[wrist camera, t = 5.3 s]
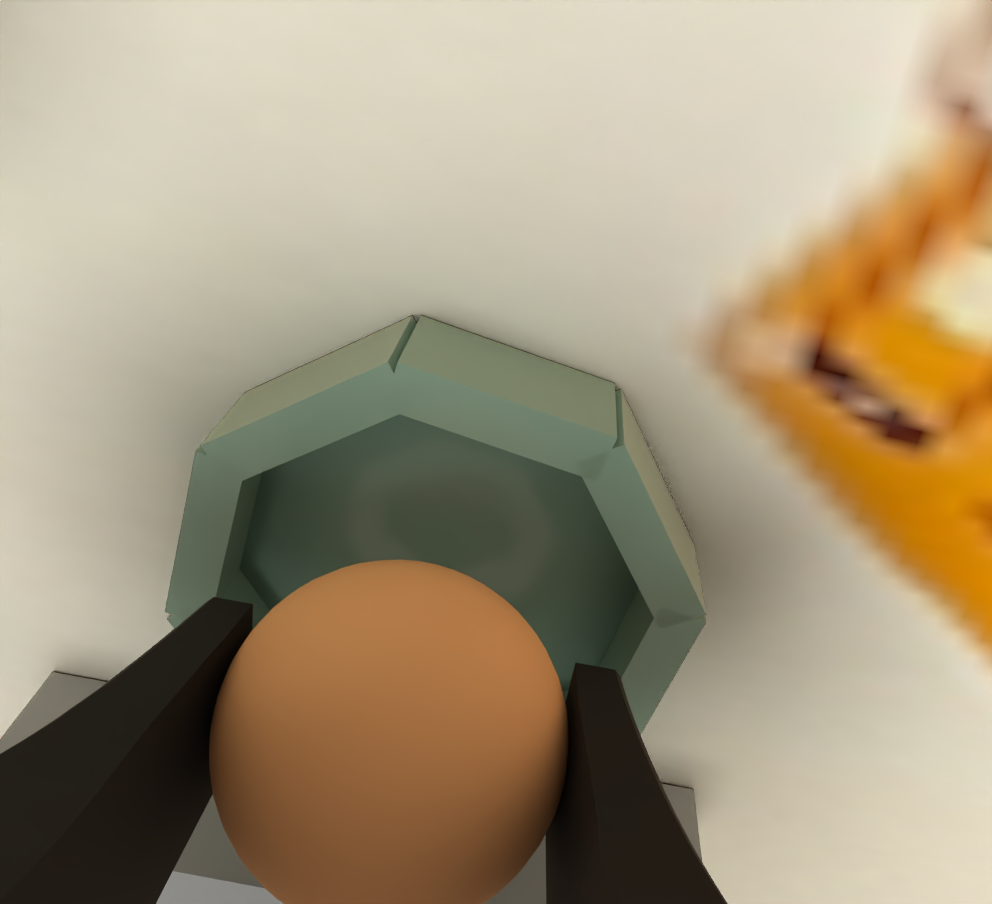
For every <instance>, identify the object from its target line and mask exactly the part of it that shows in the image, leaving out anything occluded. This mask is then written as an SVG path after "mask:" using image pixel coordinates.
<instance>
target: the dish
mask: <svg viewBox="0 0 992 904" xmlns="http://www.w3.org/2000/svg"><path fill="white" fill-rule="evenodd" d="M378 560H412V561H421V562H427V563H432V564H437V565H440V566H443V567H447V568H450V569H453V570H456V571H458V572H460V573H463V574H465V575H467V576H470V577H471V578H473V579H475V580H477V581H479V582H480V583H482V584H484V585H485V586H487V587H488V588H490V589H491V590H493V591H494V592H495V593H497V594H498V595H500V596H501V597H502V598H504V599H505V600H506V601H507V602H508V603H509V604H511V605H512V606H513V607H514V608H515V609H516V610H517V611H518V612H519V613H520V614H521V616H522V617H523V618H524V619H525V620H526V621H527V623H528V624H529V625H530V626H531V628H532V629H533V630H534V632H535V633H536V634H537V636H538V637H539V639H540V641H541V642H542V644H543V645H544V647H545V648H546V651H547V653H548V655H549V657H550V659H551V662H552V664H553V666H554V668H555V671H556V673H557V675H558V677H559V681H560V684H561V688H562V692H563V696H564V700H565V702H566V698H567V694H568V690H569V686H570V682H571V678H572V674H573V670H574V666H575V663H581V664H586V665H592V666H597V667H603V668H608V669H614V670H616V671H617V673H618V674H619V675H620V677H621V680H622V684H623V687H624V690H625V693H626V697H627V700H628V703H629V706H630V709H631V711H632V714H633V717H634V720H635V722H636V725H637V728H638V730H639V733H640V735H641V733H642V731H643V730H644V728H645V726H646V724H647V723H648V721H649V719H650V718H651V716H652V714H653V712H654V711H655V709H656V707H657V705H658V704H659V702H660V700H661V699H662V697H663V695H664V693H665V692H666V690H667V688H668V687H669V685H670V683H671V681H672V680H673V678H674V676H675V674H676V673H677V671H678V669H679V668H680V666H681V664H682V662H683V661H684V659H685V657H686V656H687V654H688V652H689V650H690V649H691V647H692V645H693V644H694V642H695V640H696V638H697V637H698V635H699V633H700V631H701V630H702V628H703V626H704V625H705V623H706V620H705V615H706V610H705V604H704V599H703V593H702V587H701V581H700V575H699V569H698V564H697V558H696V552H695V546H694V544H693V542H692V539H691V537H690V535H689V533H688V531H687V529H686V527H685V524H684V522H683V520H682V518H681V516H680V514H679V512H678V509H677V507H676V505H675V503H674V501H673V499H672V497H671V494H670V492H669V490H668V488H667V486H666V484H665V482H664V480H663V477H662V475H661V473H660V471H659V469H658V467H657V465H656V462H655V460H654V458H653V456H652V454H651V452H650V450H649V447H648V445H647V443H646V441H645V439H644V437H643V435H642V432H641V430H640V428H639V426H638V424H637V422H636V420H635V418H634V415H633V413H632V411H631V409H630V407H629V405H628V403H627V400H626V398H625V396H624V394H623V392H622V390H621V389H620V390H618V391H615V383H612V382H609V381H607V380H604V379H601V378H598V377H595V376H592V375H589V374H587V373H584V372H581V371H578V370H575V369H572V368H570V367H567V366H564V365H561V364H558V363H555V362H552V361H550V360H547V359H544V358H541V357H538V356H535V355H532V354H530V353H527V352H524V351H521V350H518V349H515V348H513V347H510V346H507V345H504V344H501V343H498V342H495V341H493V340H490V339H487V338H484V337H481V336H478V335H476V334H473V333H470V332H467V331H464V330H461V329H458V328H456V327H453V326H450V325H447V324H444V323H441V322H438V321H436V320H433V319H430V318H427V317H424V316H421V317H420V319H419V321H418V323H417V324H416V322H415V320H414V318H413V316H410V317H408V318H406V319H404V320H402V321H400V322H397V323H395V324H393V325H391V326H389V327H386V328H384V329H382V330H380V331H378V332H376V333H373V334H371V335H369V336H367V337H365V338H363V339H360V340H358V341H356V342H354V343H352V344H349V345H347V346H345V347H343V348H341V349H339V350H336V351H334V352H332V353H330V354H328V355H325V356H323V357H321V358H319V359H317V360H315V361H312V362H310V363H308V364H306V365H304V366H301V367H299V368H297V369H295V370H293V371H291V372H288V373H286V374H284V375H282V376H280V377H277V378H275V379H273V380H271V381H269V382H267V383H264V384H262V385H260V386H258V387H256V388H253V389H251V390H249V391H247V392H245V393H244V394H243V395H242V396H241V397H240V399H239V400H238V401H237V402H236V403H235V405H234V406H233V407H232V408H231V409H230V411H229V412H228V413H227V414H226V415H225V417H224V418H223V419H222V420H221V421H220V423H219V424H218V425H217V426H216V427H215V429H214V430H213V431H212V432H211V434H210V435H209V436H208V437H207V438H206V440H205V441H204V442H203V443H202V444H201V446H200V447H199V448H198V449H197V450H196V452H195V457H194V463H193V468H192V473H191V478H190V483H189V489H188V494H187V499H186V504H185V509H184V515H183V520H182V525H181V530H180V535H179V541H178V546H177V551H176V556H175V561H174V567H173V572H172V577H171V582H170V587H169V593H168V598H167V603H166V608H165V612H166V613H169V614H170V615H169V616H168V618H167V620H168V621H169V622H170V623H171V625H172V626H173V627H174V629H175V628H176V627H177V626H178V625H180V624H181V623H182V622H183V621H184V620H185V619H187V618H188V617H189V616H190V615H191V614H193V613H194V612H195V611H196V610H197V609H198V608H200V607H201V606H202V605H203V604H204V603H206V602H207V601H208V600H210V599H212V598H213V597H217V598H223V599H228V600H234V601H239V602H245V603H250V604H253V623H252V630H253V629H254V628H255V627H256V626H257V624H258V623H259V622H260V621H261V620H262V619H263V618H264V617H265V616H266V615H267V614H268V613H269V612H270V610H271V609H272V608H273V607H275V606H276V605H277V604H278V603H280V602H281V601H282V600H283V599H285V598H286V597H287V596H288V595H290V594H291V593H293V592H294V591H296V590H297V589H298V588H300V587H302V586H304V585H305V584H307V583H309V582H310V581H312V580H314V579H316V578H318V577H321V576H323V575H326V574H328V573H330V572H333V571H335V570H338V569H340V568H343V567H347V566H351V565H354V564H358V563H364V562H371V561H378Z"/></svg>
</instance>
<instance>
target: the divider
mask: <svg viewBox="0 0 992 904" xmlns="http://www.w3.org/2000/svg"><path fill="white" fill-rule="evenodd" d="M106 683H107V682H104V681H99V680H93V679H88V678H83V677H77V676H72V675H66V674H61V673H55V672H52V673H51V674H50V676H49V677H48V678H47V680H46V681H45V682H44V683H43V685H42V686H41V687H40V689H39V690H38V691H37V692H36V694H35V695H34V696H33V698H32V699H31V700H30V702H29V703H28V704H27V705H26V707H25V708H24V709H23V711H22V712H21V713H20V714H19V716H18V717H17V718H16V720H15V721H14V722H13V723H12V725H11V726H10V727H9V729H8V730H7V731H6V733H5V734H4V735H3V736H2V738H1V739H0V754H1V753H2V752H4V751H6V750H7V749H9V748H11V747H12V746H14V745H16V744H17V743H19V742H21V741H22V740H24V739H25V738H27V737H29V736H30V735H32V734H33V733H35V732H36V731H38V730H40V729H41V728H43V727H44V726H46V725H47V724H49V723H50V722H52V721H53V720H55V719H56V718H58V717H59V716H61V715H62V714H63V713H65V712H66V711H68V710H69V709H71V708H72V707H73V706H75V705H76V704H78V703H79V702H80V701H82V700H83V699H85V698H86V697H88V696H89V695H90V694H92V693H93V692H95V691H96V690H97V689H99V688H100V687H102V686H103V685H104V684H106ZM662 786H663V788H664V791H665V793H666V795H667V797H668V799H669V801H670V803H671V805H672V807H673V809H674V811H675V813H676V815H677V817H678V819H679V821H680V823H681V825H682V827H683V829H684V830H685V832H686V834H687V836H688V838H689V840H690V842H691V844H692V845H693V847H694V849H695V851H696V853H697V854H698V856H699V858H700V860H701V861H702V857H701V849H700V841H699V832H698V824H697V815H696V807H695V799H694V790H693V789H688V788H683V787H677V786H672V785H666V784H662ZM156 904H283V903H282V902H281V901H279V900H278V899H276V898H275V897H274V896H273V895H272V894H271V893H270V892H268V891H267V890H266V889H265V888H264V887H263V885H262V884H261V883H260V882H259V881H258V880H257V879H256V878H255V877H254V876H253V875H252V873H251V872H250V871H249V870H248V869H247V868H246V866H245V865H244V863H243V862H242V861H241V859H240V858H239V856H238V854H237V853H236V851H235V849H234V847H233V845H232V844H231V842H230V840H229V838H228V836H227V834H226V832H225V830H224V828H223V825H222V822H221V819H220V817H219V813H218V810H217V807H216V804H215V800H214V796H213V794H212V796H211V798H210V800H209V802H208V804H207V806H206V808H205V810H204V812H203V814H202V816H201V818H200V820H199V822H198V823H197V825H196V827H195V829H194V831H193V833H192V835H191V837H190V839H189V841H188V843H187V845H186V847H185V848H184V850H183V852H182V854H181V856H180V858H179V860H178V862H177V864H176V866H175V868H174V870H173V872H172V874H171V875H170V877H169V879H168V881H167V883H166V885H165V887H164V889H163V891H162V893H161V895H160V897H159V899H158V901H157V903H156ZM484 904H546V834H545V836H544V838H543V840H542V842H541V844H540V845H539V847H538V848H537V850H536V851H535V852H534V854H533V855H532V856H531V858H530V859H529V860H528V862H527V863H526V864H525V866H524V867H523V868H522V870H521V871H520V872H519V873H518V874H517V875H516V876H515V877H514V878H513V879H512V880H511V881H510V882H509V883H508V884H507V885H506V886H505V887H504V888H503V889H502V890H501V891H499V892H498V893H497V894H496V895H495V896H494V897H492V898H491V899H490V900H488V901H487V902H485V903H484Z"/></svg>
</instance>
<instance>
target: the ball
mask: <svg viewBox="0 0 992 904" xmlns="http://www.w3.org/2000/svg"><path fill="white" fill-rule="evenodd" d="M568 745H569V735H568V717H567V709H566V704H565V700H564V696H563V692H562V688H561V684H560V681H559V677H558V675H557V673H556V671H555V668H554V666H553V664H552V662H551V659H550V657H549V655H548V653H547V651H546V648H545V647H544V645H543V644H542V642H541V641H540V639H539V637H538V636H537V634H536V633H535V632H534V630H533V629H532V628H531V626H530V625H529V624H528V623H527V621H526V620H525V619H524V618H523V617H522V616H521V614H520V613H519V612H518V611H517V610H516V609H515V608H514V607H513V606H512V605H511V604H509V603H508V602H507V601H506V600H505V599H504V598H502V597H501V596H500V595H498V594H497V593H495V592H494V591H493V590H491V589H490V588H488V587H487V586H485V585H484V584H482V583H480V582H479V581H477V580H475V579H473V578H471V577H470V576H467V575H465V574H463V573H460V572H458V571H456V570H453V569H450V568H447V567H443V566H440V565H437V564H432V563H427V562H421V561H412V560H378V561H371V562H364V563H358V564H354V565H351V566H347V567H343V568H340V569H338V570H335V571H333V572H330V573H328V574H326V575H323V576H321V577H318V578H316V579H314V580H312V581H310V582H309V583H307V584H305V585H304V586H302V587H300V588H298V589H297V590H296V591H294V592H293V593H291V594H290V595H288V596H287V597H286V598H285V599H283V600H282V601H281V602H280V603H278V604H277V605H276V606H275V607H273V608H272V609H271V610H270V612H269V613H268V614H267V615H266V616H265V617H264V618H263V619H262V620H261V621H260V622H259V623H258V624H257V626H256V627H255V628H254V629H253V630H252V631H251V632H250V634H249V635H248V637H247V638H246V640H245V641H244V643H243V644H242V646H241V647H240V649H239V650H238V652H237V654H236V655H235V657H234V659H233V660H232V662H231V664H230V666H229V669H228V671H227V673H226V676H225V678H224V680H223V683H222V685H221V688H220V691H219V693H218V696H217V700H216V704H215V708H214V713H213V718H212V723H211V729H210V742H209V768H210V777H211V785H212V791H213V796H214V800H215V804H216V807H217V810H218V813H219V817H220V819H221V822H222V825H223V828H224V830H225V832H226V834H227V836H228V838H229V840H230V842H231V844H232V845H233V847H234V849H235V851H236V853H237V854H238V856H239V858H240V859H241V861H242V862H243V863H244V865H245V866H246V868H247V869H248V870H249V871H250V872H251V873H252V875H253V876H254V877H255V878H256V879H257V880H258V881H259V882H260V883H261V884H262V885H263V887H264V888H265V889H266V890H267V891H268V892H270V893H271V894H272V895H273V896H274V897H275V898H276V899H278V900H279V901H281V902H282V903H283V904H484V903H485V902H487V901H488V900H490V899H491V898H492V897H494V896H495V895H496V894H497V893H498V892H499V891H501V890H502V889H503V888H504V887H505V886H506V885H507V884H508V883H509V882H510V881H511V880H512V879H513V878H514V877H515V876H516V875H517V874H518V873H519V872H520V871H521V870H522V868H523V867H524V866H525V864H526V863H527V862H528V860H529V859H530V858H531V856H532V855H533V854H534V852H535V851H536V850H537V848H538V847H539V845H540V844H541V842H542V840H543V838H544V836H545V834H546V832H547V830H548V828H549V826H550V824H551V822H552V820H553V818H554V816H555V813H556V810H557V807H558V804H559V801H560V797H561V794H562V790H563V786H564V783H565V777H566V768H567V759H568Z"/></svg>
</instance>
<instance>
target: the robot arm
mask: <svg viewBox="0 0 992 904" xmlns="http://www.w3.org/2000/svg"><path fill="white" fill-rule="evenodd" d="M252 623H253V604H250V603H245V602H239V601H234V600H228V599H223V598H217V597H213V598H212V599H210V600H208V601H207V602H206V603H204V604H203V605H202V606H201V607H200V608H198V609H197V610H196V611H195V612H194V613H193V614H191V615H190V616H189V617H188V618H187V619H185V620H184V621H183V622H182V623H181V624H180V625H178V626H177V627H176V628H175V629H174V630H172V631H171V632H170V633H169V634H168V635H166V636H165V637H164V638H163V639H162V640H160V641H159V642H158V643H157V644H155V645H154V646H153V647H152V648H151V649H149V650H148V651H147V652H146V653H144V654H143V655H142V656H141V657H139V658H138V659H137V660H135V661H134V662H133V663H132V664H130V665H129V666H128V667H126V668H125V669H124V670H123V671H121V672H120V673H119V674H117V675H116V676H115V677H114V678H112V679H111V680H110V681H108V682H107V683H106V684H104V685H103V686H102V687H100V688H99V689H97V690H96V691H95V692H93V693H92V694H90V695H89V696H88V697H86V698H85V699H83V700H82V701H80V702H79V703H78V704H76V705H75V706H73V707H72V708H71V709H69V710H68V711H66V712H65V713H63V714H62V715H61V716H59V717H58V718H56V719H55V720H53V721H52V722H50V723H49V724H47V725H46V726H44V727H43V728H41V729H40V730H38V731H36V732H35V733H33V734H32V735H30V736H29V737H27V738H25V739H24V740H22V741H21V742H19V743H17V744H16V745H14V746H12V747H11V748H9V749H7V750H6V751H4V752H2V753H1V754H0V904H156V903H157V901H158V899H159V897H160V895H161V893H162V891H163V889H164V887H165V885H166V883H167V881H168V879H169V877H170V875H171V874H172V872H173V870H174V868H175V866H176V864H177V862H178V860H179V858H180V856H181V854H182V852H183V850H184V848H185V847H186V845H187V843H188V841H189V839H190V837H191V835H192V833H193V831H194V829H195V827H196V825H197V823H198V822H199V820H200V818H201V816H202V814H203V812H204V810H205V808H206V806H207V804H208V802H209V800H210V798H211V796H212V794H213V791H212V785H211V777H210V768H209V742H210V729H211V723H212V718H213V713H214V708H215V704H216V700H217V696H218V693H219V691H220V688H221V685H222V683H223V680H224V678H225V676H226V673H227V671H228V669H229V666H230V664H231V662H232V660H233V659H234V657H235V655H236V654H237V652H238V650H239V649H240V647H241V646H242V644H243V643H244V641H245V640H246V638H247V637H248V635H249V634H250V632H251V631H252ZM565 704H566V709H567V717H568V735H569V745H568V759H567V768H566V777H565V783H564V786H563V790H562V794H561V797H560V801H559V804H558V807H557V810H556V813H555V816H554V818H553V820H552V822H551V824H550V826H549V828H548V830H547V832H546V904H727V902H726V901H725V899H724V897H723V896H722V894H721V893H720V891H719V889H718V888H717V886H716V885H715V883H714V881H713V880H712V878H711V876H710V875H709V873H708V872H707V870H706V868H705V866H704V865H703V863H702V861H701V860H700V858H699V856H698V854H697V853H696V851H695V849H694V847H693V845H692V844H691V842H690V840H689V838H688V836H687V834H686V832H685V830H684V829H683V827H682V825H681V823H680V821H679V819H678V817H677V815H676V813H675V811H674V809H673V807H672V805H671V803H670V801H669V799H668V797H667V795H666V793H665V791H664V788H663V786H662V784H661V782H660V780H659V777H658V775H657V773H656V771H655V769H654V766H653V764H652V762H651V760H650V757H649V755H648V753H647V750H646V748H645V745H644V743H643V740H642V738H641V735H640V733H639V730H638V728H637V725H636V722H635V720H634V717H633V714H632V711H631V709H630V706H629V703H628V700H627V697H626V693H625V690H624V687H623V684H622V680H621V677H620V675H619V674H618V673H617V671H616V670H614V669H608V668H603V667H597V666H592V665H586V664H581V663H575V666H574V670H573V674H572V678H571V682H570V686H569V690H568V694H567V698H566V702H565Z"/></svg>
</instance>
